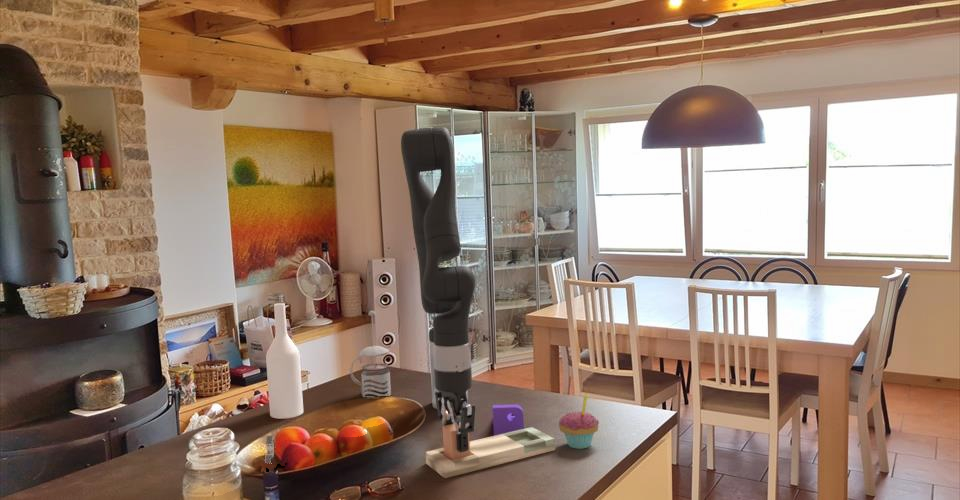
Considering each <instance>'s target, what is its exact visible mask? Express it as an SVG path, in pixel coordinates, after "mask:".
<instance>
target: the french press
mask: <svg viewBox="0 0 960 500" xmlns="http://www.w3.org/2000/svg"><path fill="white" fill-rule="evenodd" d="M367 313H368V314H367V315H368V316H371V326H372V330H374V320H373V318H374V317H373V316H376V314H377V313H376V311H375V310H370V311H369V312H367ZM372 343H373V345H371V346H366V347H365V348H363V349H362V350H360V351H359V353H358V354H359V356H358V357H357V358H354V360H353V361H352V363H351V365H350V368H349V374H350V377H351V380H352V382H354V383H355V384H357V385H359V386H360V389H361V390H360V391H361V392H360V393H361V396H362V397H363V398H365V397H374V396H377V397H380V396H386V397H387V396H388V397H389V396H391V395H392V388H391V387H392V386H391V372H390V369H388V368H389V364H387V363H384V362H381V363H380V362H378V363H376V357H380V356H381V357H382V356H387V354H389V353H390V350H389V349H388V348H386V347H384V346H380V345H375V333H374V331H372ZM362 357H371V358H372V357H373V359H374V360H373V361H374V363H368V364H365V365H362V367H361V369H362V370H363V371H362V372H361V375H360V376H361V381H359V380H358V379H356V377H355V376H354V373H353V365H354V364H355V362H356V361H357V360H359V363H360V364H361V363H362V360H363V359H362ZM374 373H377V374H374ZM370 374H372V375H370ZM376 382H377V383H376ZM368 385H369V386H368ZM377 387H378V388H377ZM381 388H382V389H381ZM375 391H376V392H375ZM378 392H379V393H378ZM386 392H387V393H386ZM383 393H385V394H383Z"/></svg>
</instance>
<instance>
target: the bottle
mask: <svg viewBox="0 0 960 500" xmlns="http://www.w3.org/2000/svg"><path fill="white" fill-rule="evenodd" d="M273 310H274V327H275V334H274V335H275V336H274V338H273V340H272V342H271V344H270V345H269V348H268V350H267V351H266V355H265V361H266V375H267V390H268V403H269V404H268V405H269V415H270V417H271V418H274V419H281V420H283V419H285V420H286V419H292V418H296V417H298V416H300V415H302V414H304V402H303V399H304V398H303V385H302V371H301V357H300V351H299V349H298V347H297V346H296V344H295V342H293V340H292V339H291V338H290V336H289V335H288V330H287V329H288V327H287V318H286V304H285V303H284V302H278V303H274V304H273Z"/></svg>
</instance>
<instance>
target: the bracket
mask: <svg viewBox="0 0 960 500" xmlns="http://www.w3.org/2000/svg"><path fill="white" fill-rule="evenodd" d="M492 417H493V418H492V421H493V423H492V424H493V436H495V435H500V434H504V433H508V432H512V431H517V430H521V429H525V428H524V427H525V426H524V424H525V422H524V409H523V408H522V406H521V405H519V404H493V405H492Z"/></svg>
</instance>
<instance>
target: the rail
mask: <svg viewBox="0 0 960 500" xmlns="http://www.w3.org/2000/svg"><path fill="white" fill-rule="evenodd" d="M555 440H556V439H555V438H554V437H553V436H550V435H548V434H546V433H544V432H543V431H541V430H540V429H536V428H534V427H533V426H529V427H526V428H524V429H521V430H517V431H512V432H508V433H504V434H500V435H495V436H494V435H492V436H487V437H483V438H479V439H474V440H469V441H470V456H467V457H463V458H459V459H455V460H450V459H448V458H447V457H445V456H444V447H440V448H436V449H432V450H427V451H425V464H426V465H428V467H430V468H431V469H432V470H433V471H435V472H436V473H438V474H439V475H440V476H441V477H442V478H444V479H448V478H451V477H455V476H459V475H463V474H468V473H471V472H475V471H479V470H483V469H487V468H491V467H494V466H499V465H502V464H507V463H509V462H510V463H511V462H514V461H517V460H522V459H525V458H528V457H529V458H530V457H533V456H537V455H541V454H545V453H548V452H552V451H555V450H556V441H555Z"/></svg>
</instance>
